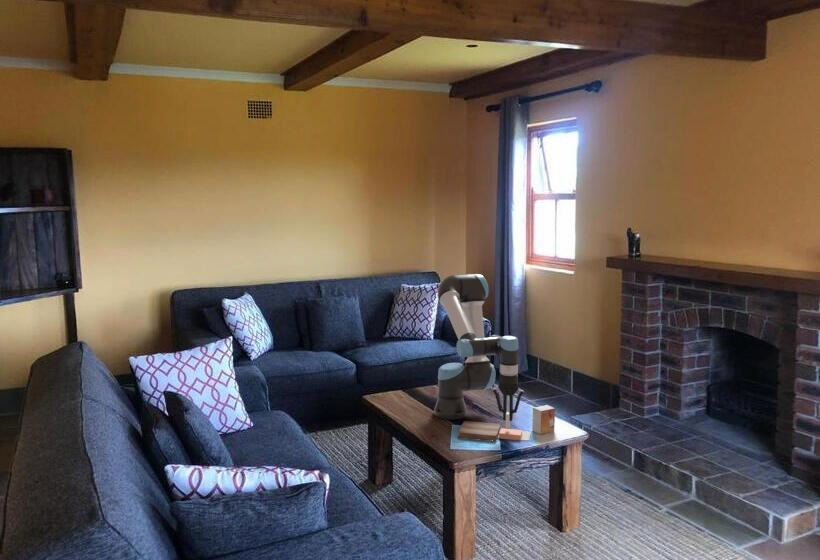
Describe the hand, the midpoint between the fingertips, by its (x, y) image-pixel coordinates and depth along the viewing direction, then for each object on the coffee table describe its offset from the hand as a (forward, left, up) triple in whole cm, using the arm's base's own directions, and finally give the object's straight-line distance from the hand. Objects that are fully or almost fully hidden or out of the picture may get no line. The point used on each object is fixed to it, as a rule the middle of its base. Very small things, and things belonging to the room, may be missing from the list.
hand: (507, 427), depth 279 cm
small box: (-10, +14, -4) cm, 18 cm away
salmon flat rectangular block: (0, +1, -4) cm, 4 cm away
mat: (-2, +3, -4) cm, 5 cm away
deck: (0, -12, -4) cm, 12 cm away
